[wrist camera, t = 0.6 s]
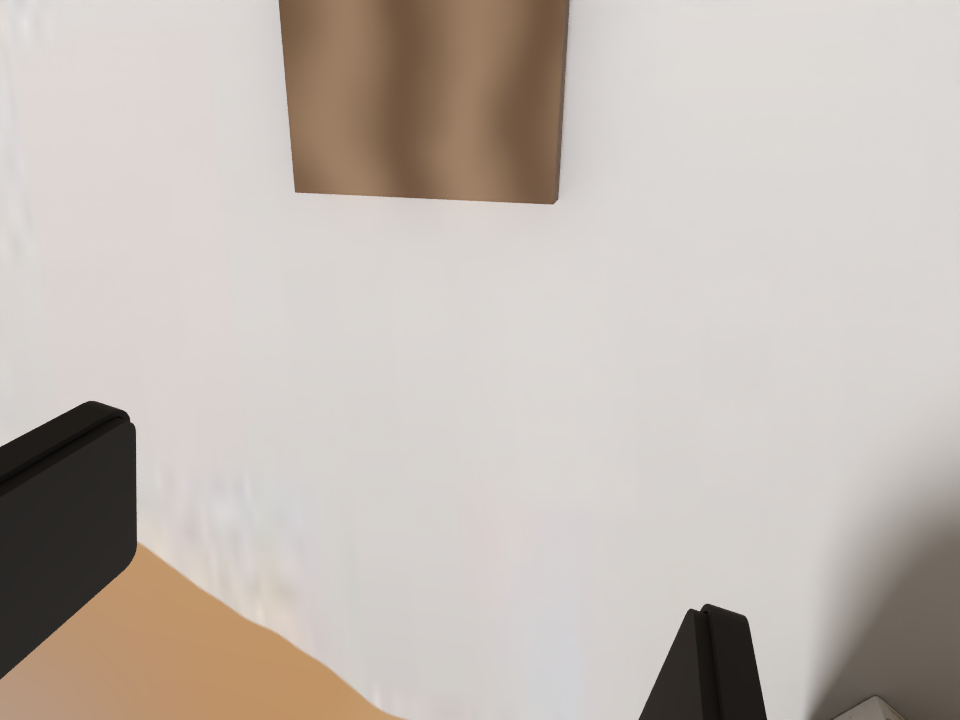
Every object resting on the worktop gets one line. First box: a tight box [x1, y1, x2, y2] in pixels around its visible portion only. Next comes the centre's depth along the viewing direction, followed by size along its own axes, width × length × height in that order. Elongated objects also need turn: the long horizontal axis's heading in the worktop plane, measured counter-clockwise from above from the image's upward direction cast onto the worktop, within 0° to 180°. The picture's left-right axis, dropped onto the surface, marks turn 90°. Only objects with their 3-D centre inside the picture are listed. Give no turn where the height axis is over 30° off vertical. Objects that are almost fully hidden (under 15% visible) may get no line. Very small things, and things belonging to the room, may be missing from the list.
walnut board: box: [279, 0, 569, 204], centre depth 32 cm, size 14×14×2 cm
